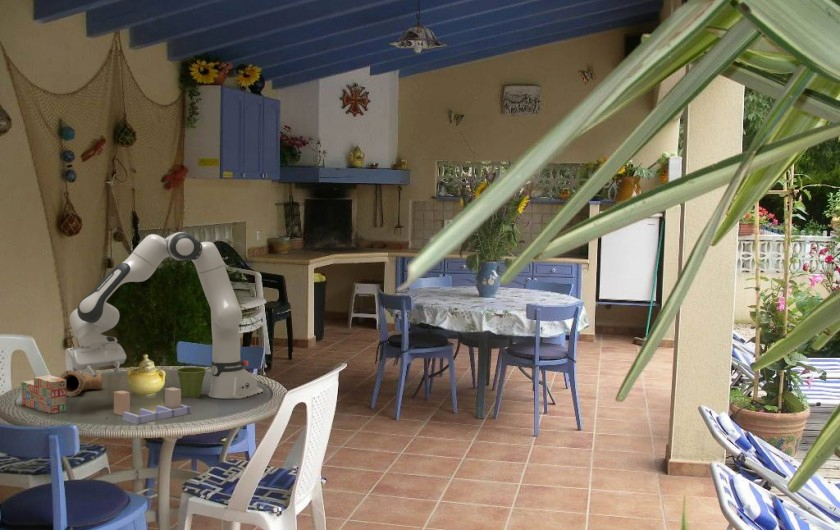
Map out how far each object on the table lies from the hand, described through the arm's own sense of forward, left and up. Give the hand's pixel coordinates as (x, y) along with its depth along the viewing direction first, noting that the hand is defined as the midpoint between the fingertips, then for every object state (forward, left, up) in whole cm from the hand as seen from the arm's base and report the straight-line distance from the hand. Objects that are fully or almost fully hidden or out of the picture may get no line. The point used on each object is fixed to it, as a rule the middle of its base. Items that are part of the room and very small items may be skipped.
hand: (106, 374), depth 334 cm
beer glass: (-16, -55, -14) cm, 59 cm away
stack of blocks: (+14, -21, -14) cm, 29 cm away
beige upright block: (-13, +23, -13) cm, 30 cm away
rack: (-7, +23, -14) cm, 28 cm away
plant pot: (-36, +2, -14) cm, 39 cm away
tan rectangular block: (0, +11, -14) cm, 18 cm away
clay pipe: (-8, -36, -14) cm, 39 cm away
